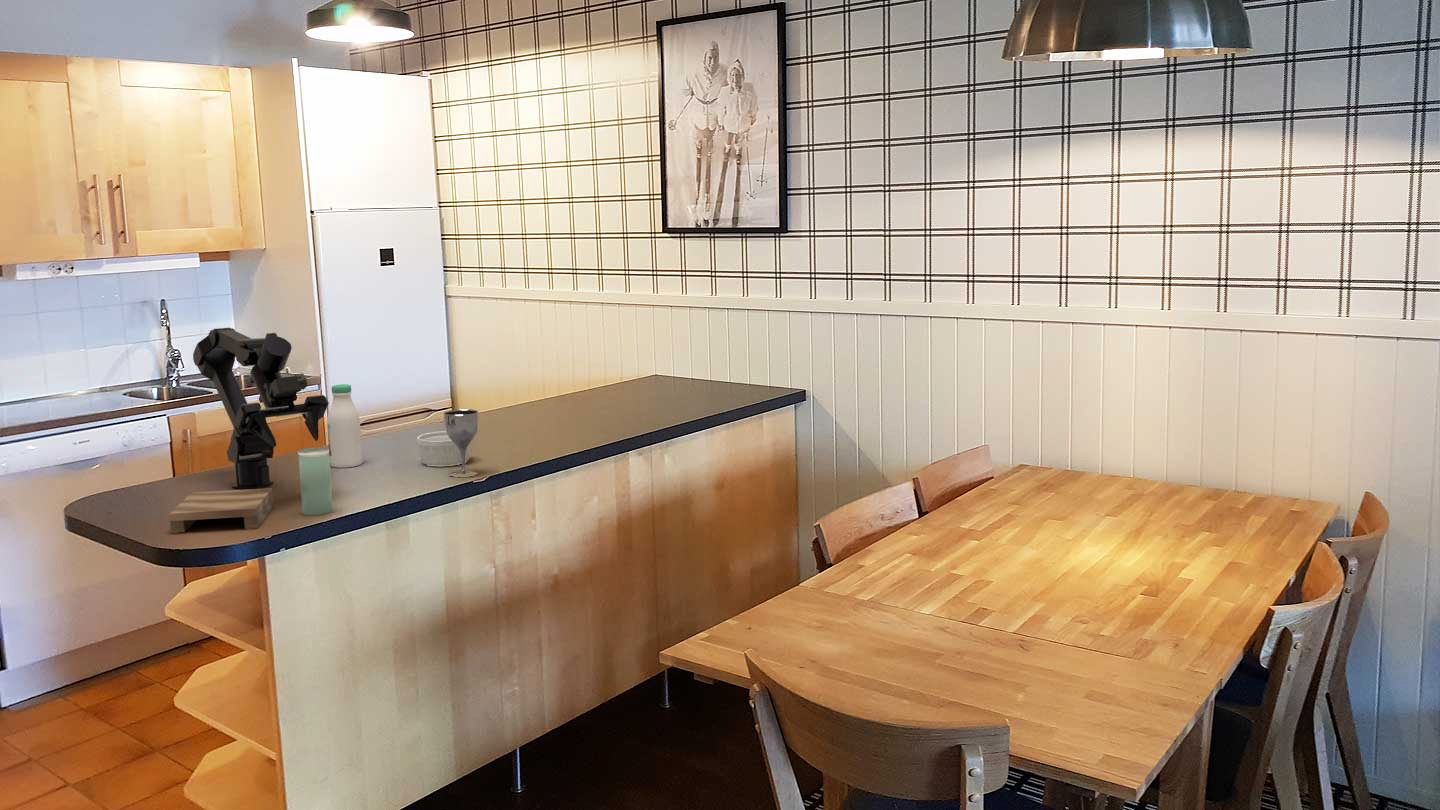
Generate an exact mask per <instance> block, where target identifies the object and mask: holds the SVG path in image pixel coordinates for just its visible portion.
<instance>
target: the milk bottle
mask: <svg viewBox="0 0 1440 810" xmlns="http://www.w3.org/2000/svg"><path fill="white" fill-rule="evenodd" d="M331 395H332V402H331V406H330V408H329V411H328V413H327V420H326V421H327V439H328V441H327V443H328V449H329V462H330V467H332V468H337V469H338V468H341V469H342V468H344V469H345V468H353V467H358V466H361V465H362V463H363V447H362V432H361V431H362V430H361V421H360V415H359V413H358V410H357V408H356V406H355V404H354V401H353V400H352V397H351V396H352V385H351V384H335V385H332V386H331Z"/></svg>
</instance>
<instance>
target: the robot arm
mask: <svg viewBox="0 0 1440 810" xmlns="http://www.w3.org/2000/svg"><path fill="white" fill-rule="evenodd" d="M292 349H293V348H292V344H291V343H290V342H289V341H288V340H287V339H285V338H283V337H281V336H278V334H277V333H276V332H271V333H269V332H268V333H266V335H265V338H263V337H262V338H256V337H255V338H251V337H249V336H248V335H245V334H243V333H240V332H238V331H236V330H235V328H231V327H222V328H221V327H220V328H213V329H210V331H209V333H208V335H207V336H205V337H204V338H202V340H200V341H198V343H196V346H195V347H194V350H193V353H192V360H193V363H194V365H195V366H196V367H197V369H198V371H199V373H201V376H204V377H205V378H207V379H209V380H210V381H212V382H213V384H214V386H215V389H216V392H217V394H218V395H219V397H220V399H221V400H220V401H221V402H222V405H223V406H224V408H225V411H226V414H227V416H228V418H229V420H230V422H231V425H232V427H233V430H232V432H231V433H232V434H231V437H230V443H229V444H228V445H229V446H228V448H227V450H226V455H227V460H228V461H229V462H230V463H233V464H234V466H235V467H234V468H235V477H236V484H233V485H231V486H232V487H231V488H232V489H243V490H247V489H262V488H263V487H266V486H269V485H271V484H273V483H274V481H273V480H271V479H270V467H269V465H268V460H267V459H273V458H274V453H275V452H274V449H275V448H276V447H277V441H276V439H275V436H274V434H273V433H272V430H271V428H270V426H269V424H268V422H267V418H272V417H276V418H280V417H287V416H296V415H301V416H302V418H303V419H304V420H305V421H304V424H305V426H306V427H307V430H308V431H309V433H310V435H311V437H312V438H313V439H314V441H315V442H317V441H318V440H319V438H320V437H319V436H320V435H319V421H320V420H321V419H322V418H323V417H324V415H325V414H326V411H327V409H328V406H329V403H330V402H329V400H328V399H327V397H326V395H324V394H319V395H310V396H309V395H308V396H306V398H305V400H304V403H298V404H295V402H296V401H297V399H298V395H297V394H298V393H299V392H301V391H302V390H305V389H306V388H307V387H308V380H307V378H306V376H305V374H304V373H296V374H294V375H293V376H284V377H282V375H281V372H282V371H283V370H284V369H285V368H286V365H287V362H288V360H289V357H290V354H291V351H292ZM235 361H236V362H238V364H239V365H241V366H242V367H251V370H250V374H249V375H250V377H249V378H250V379H249V383H250V384H254V385H255V387H256V391H257V392H258V394H259V397H258V401H259V402H252V403H251V402H249V403H248V401H247V400H246V399H247V398H245V395H244V393H243V391H242V389H241V387H240V384H239V382H238V380H237V377H236V376H235V374H234V372H233V368H234V366H235V365H234V364H235ZM261 403H262V404H263V406H264V407H262V406H261Z"/></svg>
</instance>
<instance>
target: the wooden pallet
mask: <svg viewBox="0 0 1440 810" xmlns="http://www.w3.org/2000/svg"><path fill="white" fill-rule="evenodd" d="M273 496H274V495H273V488H272V487H268V488H266V487H264V488H258V489H231V490H213V491H198V492H197V491H196V492H195V491H193V492H191V493H190V494H188V495H187V496H186V497H185V498H184V499H183V500H182V501H181V502H180V503H179V504H178V505H176V507H174V508H173V509H172V510H171V512H169V524H170V534H171V533H173V534H179V533H178V532H185V531H186V530H187V531H188V529H190V528H191V526H192V525H193V524H194V523H195V522H196V521H197V520H210V519H211V520H212V519H230V518H243V522H244V523H243V524H244V530H250V529H251V530H252V529H259V528H260V526H261V524H262V523H263V522H264V520H265V519H266V518H267V516H268V514H269V513H270V512H271V511H272V509H273V508H274V497H273ZM195 520H196V521H195ZM194 521H195V522H194ZM193 522H194V523H193ZM190 525H191V526H190ZM187 531H186V532H187ZM186 532H185V533H186Z"/></svg>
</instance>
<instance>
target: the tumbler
mask: <svg viewBox="0 0 1440 810" xmlns="http://www.w3.org/2000/svg"><path fill="white" fill-rule="evenodd" d="M297 456H298V457H297V458H298V470H299V485H300V496H301V497H300V499H301V508H302V509H301V511H302V515H303V516H304V515H305V516H321V515H322V514H323V515H327V514H330V513H332V512H333V511H334V507H333V495H332V493H333V492H332V481H331V480H332V479H331V465H330V457H329V448H327V447H310V448H304V449H300V450H298V451H297ZM323 515H322V516H323Z"/></svg>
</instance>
